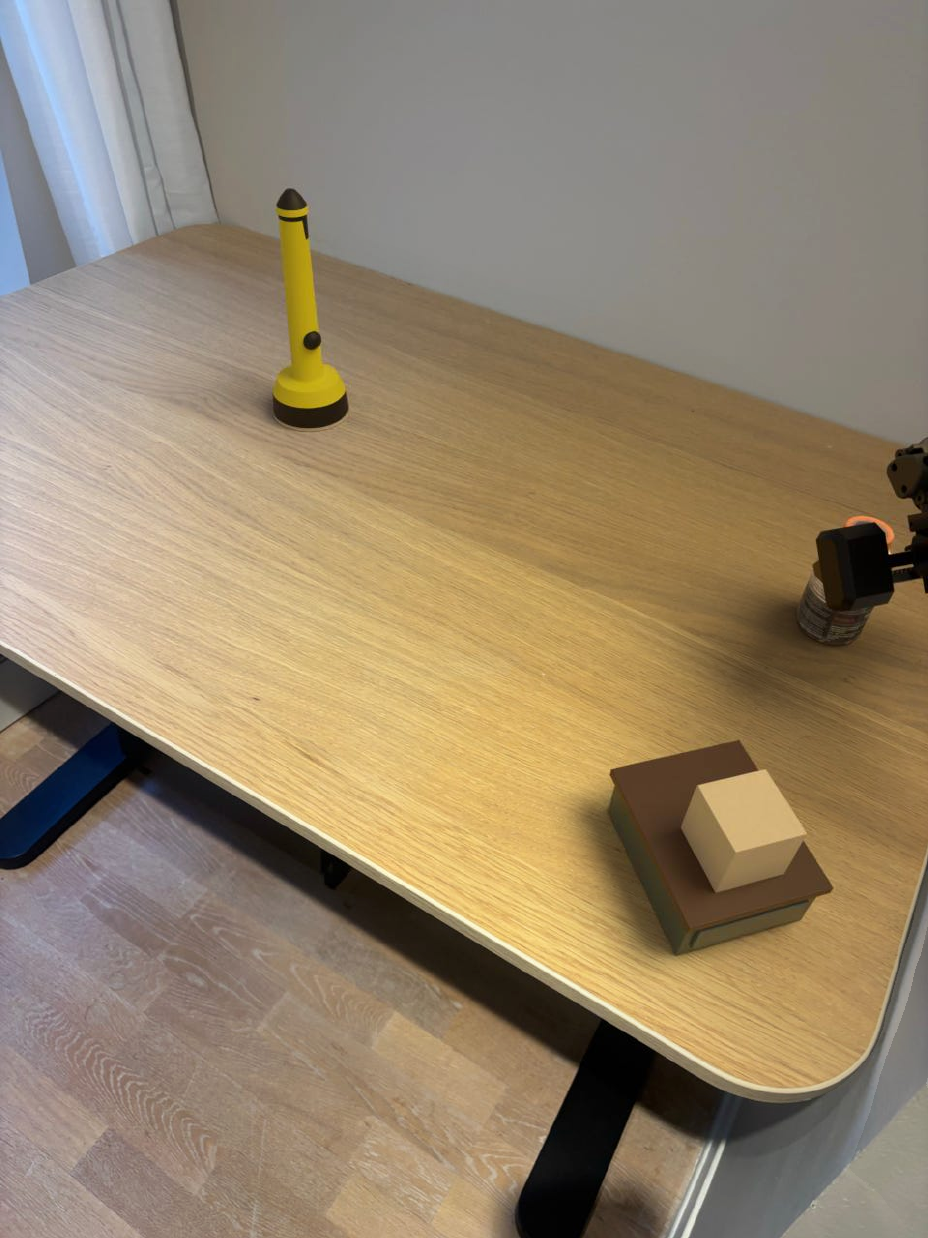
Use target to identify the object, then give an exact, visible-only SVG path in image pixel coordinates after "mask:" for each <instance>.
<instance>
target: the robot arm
mask: <svg viewBox="0 0 928 1238" xmlns="http://www.w3.org/2000/svg"><path fill="white" fill-rule="evenodd" d="M886 467H887V468H886V476H887V478H888V480H889V482H890V485H891V487H892V490H893V491H894V494H895V495H896V497H897V498H898V499H901V500H906V499H911V500H912V502H913V504H914V506H915V507H916V508H917V510H919V511H920V512H919V513H913V514H907V515H906V518H907V523H908V529H909V532H911V533H915V534H914V535H913V536H912V538H911V543H910V544H908V545H905V546H904V548H903V550H904V551H899V552H893V553H892V554H889V552H888V546H887V540H886V534H885V532H884V531H883V530H882V529H881V528H880V527H879V526H878V525H877V524H876V523H875V522H872V523H866V524H860V525H854V526H848V527H844V526H843V527H838V528H831V529H827V530H821V531H820V532H819V533H818V535H817V537H816V538H815V546H816V551H817V559H818V558H819V560H818V561H817V560H816V561H815V562H813V563H812V571H814V576H815V577H816V578H818V579H819V580H820V581H821V582H822V583H823V589H824V595H825V601H826V606H827V607H828V608H830V609H831V610H832V611H833V612H843V611H854V610H859V609H864V608H869V607H878V606H879V607H880V606H884V605H888V604H889V603H890V601H891V599H892V597H893V596H894V594H895V592H896V590H895V585H896V584H900V583H906V582H911V581H916V580H921V579H922V582H923V589H924V594H928V436H927V437H924V438H923V439H922V440H921V441H920V442H919V443H912V444H911V445H910V446H908V447H904V448H898V449H897V450H895V453H894V459H893V460H892V461H890V463H888V465H887V466H886ZM910 565H912V566H910ZM905 566H908V567H905ZM909 566H910V567H909ZM899 567H904V568H899ZM891 568H893V570H892V571H891ZM894 568H898V569H894Z"/></svg>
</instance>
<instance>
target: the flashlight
mask: <svg viewBox="0 0 928 1238" xmlns="http://www.w3.org/2000/svg"><path fill="white" fill-rule="evenodd" d="M275 213H276V215H277V217H278V226H279V227H278V229H279V239H280V250H281V263H282V273H283V284H284V295H285V306H286V319H287V329H288V330H287V331H288V340H289V341H288V342H289V353H290V362H291V363H290V364H289V365H286V366H285V367H284V368H282V369H281V370H280V371H279V372H278V374H277V376H276V379H275V382H274V385H273V387H272V408H273V409H272V413H273V414H272V415H273V417H274V420H275V421H276V422H277V423H278V424H279V425H281V426H282V427H285V428H286V429H290V430H293V431H299V432H309V433H311V432H321V431H326V430H329V429H332V428H335V427H337V426H339V425H340V424H342V423H343V422H345V420H347V418H348V416H349V413H350V406H349V400H348V393H347V386H346V383H345V382H344V381H343V378H342V377H341V376H340V375H341V374H339V372H338V371H337V369H335V367H334V366H333V367H332V365H329V364H326V363H324V362H323V359H322V358H323V357H322V347H321V343H322V337H321V334H320V330H319V320H318V310H317V301H316V292H315V291H316V290H315V283H314V273H313V271H314V270H313V263H312V255H311V254H312V253H311V244H310V243H311V242H310V234H309V223H308V214H309V206H308V203H307V201H306V200H305V199H304V198H303V196H302V195H301V194H300V193H299V192H298V191H297V190H296V189H295V188H292V187H289V188H288V187H287V188H286V189H284V191H283V193H281V195H280V196H279V198H278V200H277V202H276V205H275Z"/></svg>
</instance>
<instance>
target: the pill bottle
mask: <svg viewBox="0 0 928 1238" xmlns="http://www.w3.org/2000/svg"><path fill="white" fill-rule="evenodd" d="M872 522H875V523H876V524H877V525H878V526H879V527H880V528H881V529H882V530H883V531H884V532H885V534H886V540H887V546H888V552H889V554H893V553H892V552H891V547H892V545H893V542H894V538H895V533H894V531H893V529H892V528H891V526H889V525H888V524H887V523H886V522H884V521H882V520H880V519H878V518H875V517H871V516H866V515H864V516H863V515H857V516H853V517H850V518H848V519H847V520H846V521H845V523H844V525H843V527H848V526H854V525H860V524H866V523H872ZM818 560H819V558H818V557H817V559H816V561H818ZM893 570H894V568H891V571H893ZM874 607H875V606H874ZM874 607H869V608H864V609H859V610H854V611H843V612H833V611H832V610H831V609H830V608H828V607H827V606H826V601H825V595H824V589H823V583H822V582H821V581H820V580H819V579H818V578H816V577H815V576H814V571H813V570H812V571H811V574H810V576H809V578H808V580H807V583H806V586H805V588H804V590H803V593H802V595H801V598H800V600H799V603H798V605H797V608H796V610H795V620H796V623H797V625H798V626H799V628H800V630H801V631H803V632H804V633H805V634H806V635H807V636H808V637H810V638H812V639H814V640H815V641H818V642H820V643H824V644H827V645H833V646H842V645H848V644H851V643H852V642H855V641H856V640H857V639H858V638H859V637H860V636H861V634H862V632H863V630H864V628H865V626H866V624H867V622H868V620H869V618H870V616H871V613H872V612H873V609H874Z"/></svg>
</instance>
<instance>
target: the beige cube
mask: <svg viewBox="0 0 928 1238" xmlns="http://www.w3.org/2000/svg"><path fill="white" fill-rule="evenodd" d="M758 770H759V769H758ZM681 829H682V831H683V833H684V835H685V837H686V838H687V840H688V842H689V844H690V846H691V848H692V850H693V852H694V853H695V855H696V857H697V859H698V861H699V863H700V865H701V867H702V868H703V870H704V872H705V874H706V876H707V878H708V880H709V882H710V883H711V885H712V887H713V889H714V891H715V893H717V892H721V891H724V890H728V889H732V888H735V887H739V886H743V885H746V884H750V883H754V882H757V881H761V880H765V879H768V878H772V877H776V876H779V875H783V874H784V873H785V871H786V869H787V867H788V866H789V864H790V862H791V861H792V859H793V857H794V855H795V854H796V852H797V850H798V849H799V847H800V845H801V844H802V842H803V841H804V840H805V838H806V837H807V835H808V832H807V831H806V828H804V826H803V825H802V823H801V822H800V820H799V819H798V817H797V815H796V814H795V812H794V810H793V809H792V808H791V806H790V805H789V803H788V801H787V799H786V798H785V796H784V795H783V794H782V792H781V790H780V789H779V787H778V786H777V784H776V783H775V781H774V779H773V778H772V776H771V775H770V774H769V772H768V770H767V769H766V768H764V769H760V770H759V771H755V772H751V773H747V774H743V775H739V776H734V777H730V778H726V779H722V780H718V781H714V782H709V783H705V784H701V785H698V786H697V787H696V790H695V792H694V795H693V797H692V800H691V803H690V805H689V808H688V810H687V813H686V815H685V818H684V820H683V823H682V825H681Z"/></svg>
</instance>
